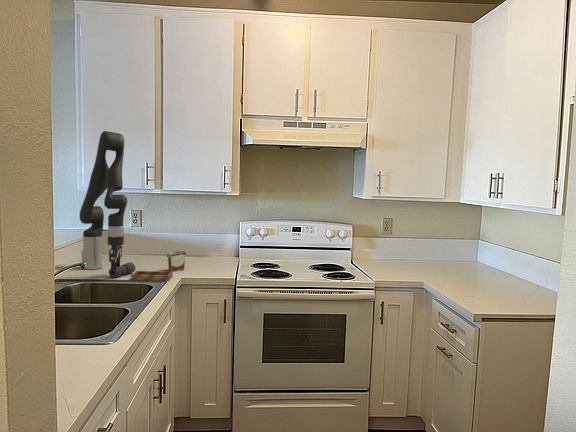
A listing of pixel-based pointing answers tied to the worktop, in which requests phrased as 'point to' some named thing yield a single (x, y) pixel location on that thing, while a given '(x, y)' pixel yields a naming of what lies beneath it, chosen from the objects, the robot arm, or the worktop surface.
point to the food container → (176, 260)
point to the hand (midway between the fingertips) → (115, 268)
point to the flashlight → (123, 269)
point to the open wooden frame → (152, 275)
